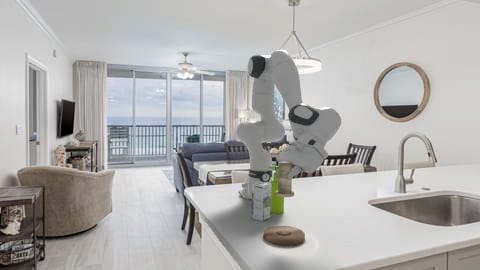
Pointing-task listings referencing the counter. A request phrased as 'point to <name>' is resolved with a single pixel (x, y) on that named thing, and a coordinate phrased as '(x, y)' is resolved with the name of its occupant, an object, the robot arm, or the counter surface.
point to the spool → (284, 180)
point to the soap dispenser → (276, 201)
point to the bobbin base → (284, 235)
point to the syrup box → (261, 201)
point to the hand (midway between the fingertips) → (283, 176)
